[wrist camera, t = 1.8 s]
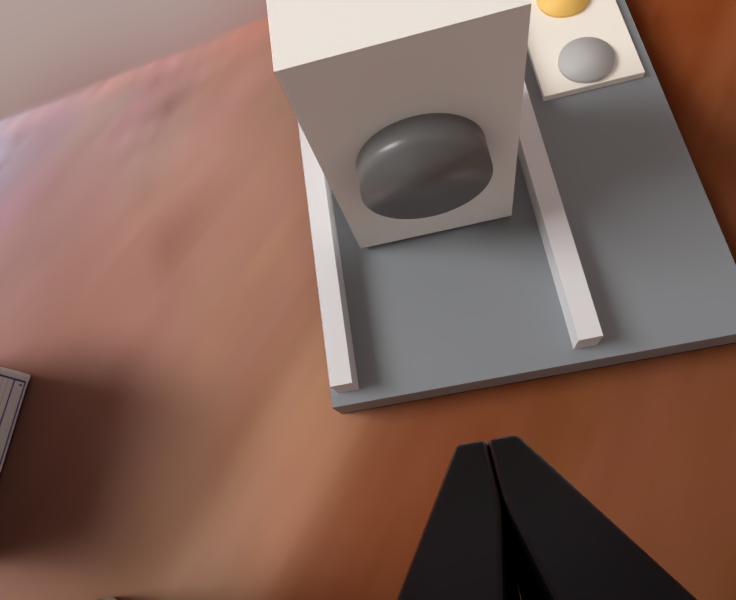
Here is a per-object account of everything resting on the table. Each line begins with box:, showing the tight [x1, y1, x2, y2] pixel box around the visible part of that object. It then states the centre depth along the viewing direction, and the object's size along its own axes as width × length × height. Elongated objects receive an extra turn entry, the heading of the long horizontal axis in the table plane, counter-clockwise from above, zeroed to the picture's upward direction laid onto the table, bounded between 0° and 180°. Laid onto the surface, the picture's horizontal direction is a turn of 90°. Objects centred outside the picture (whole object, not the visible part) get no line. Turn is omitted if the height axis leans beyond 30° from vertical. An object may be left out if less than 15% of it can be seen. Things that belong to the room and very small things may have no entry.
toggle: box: [266, 0, 531, 249], centre depth 18 cm, size 6×6×10 cm
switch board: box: [297, 0, 736, 414], centre depth 23 cm, size 18×15×3 cm
